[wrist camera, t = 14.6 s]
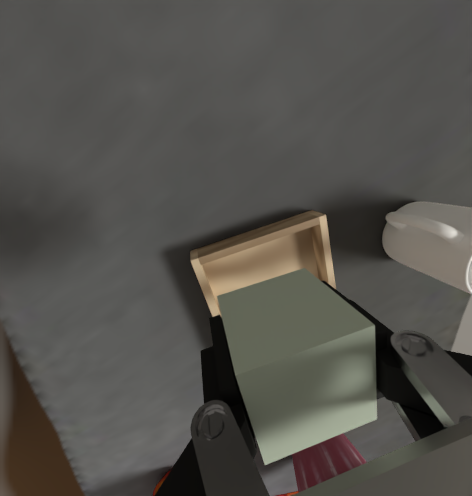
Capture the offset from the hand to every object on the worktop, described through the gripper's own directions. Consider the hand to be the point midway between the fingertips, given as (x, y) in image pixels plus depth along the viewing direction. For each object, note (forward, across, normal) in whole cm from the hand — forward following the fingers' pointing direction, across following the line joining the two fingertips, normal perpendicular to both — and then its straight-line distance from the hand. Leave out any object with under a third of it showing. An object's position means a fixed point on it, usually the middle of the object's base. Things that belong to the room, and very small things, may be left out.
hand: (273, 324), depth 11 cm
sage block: (0, 0, 0) cm, 0 cm away
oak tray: (+16, -4, +10) cm, 19 cm away
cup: (+16, -22, +5) cm, 28 cm away
